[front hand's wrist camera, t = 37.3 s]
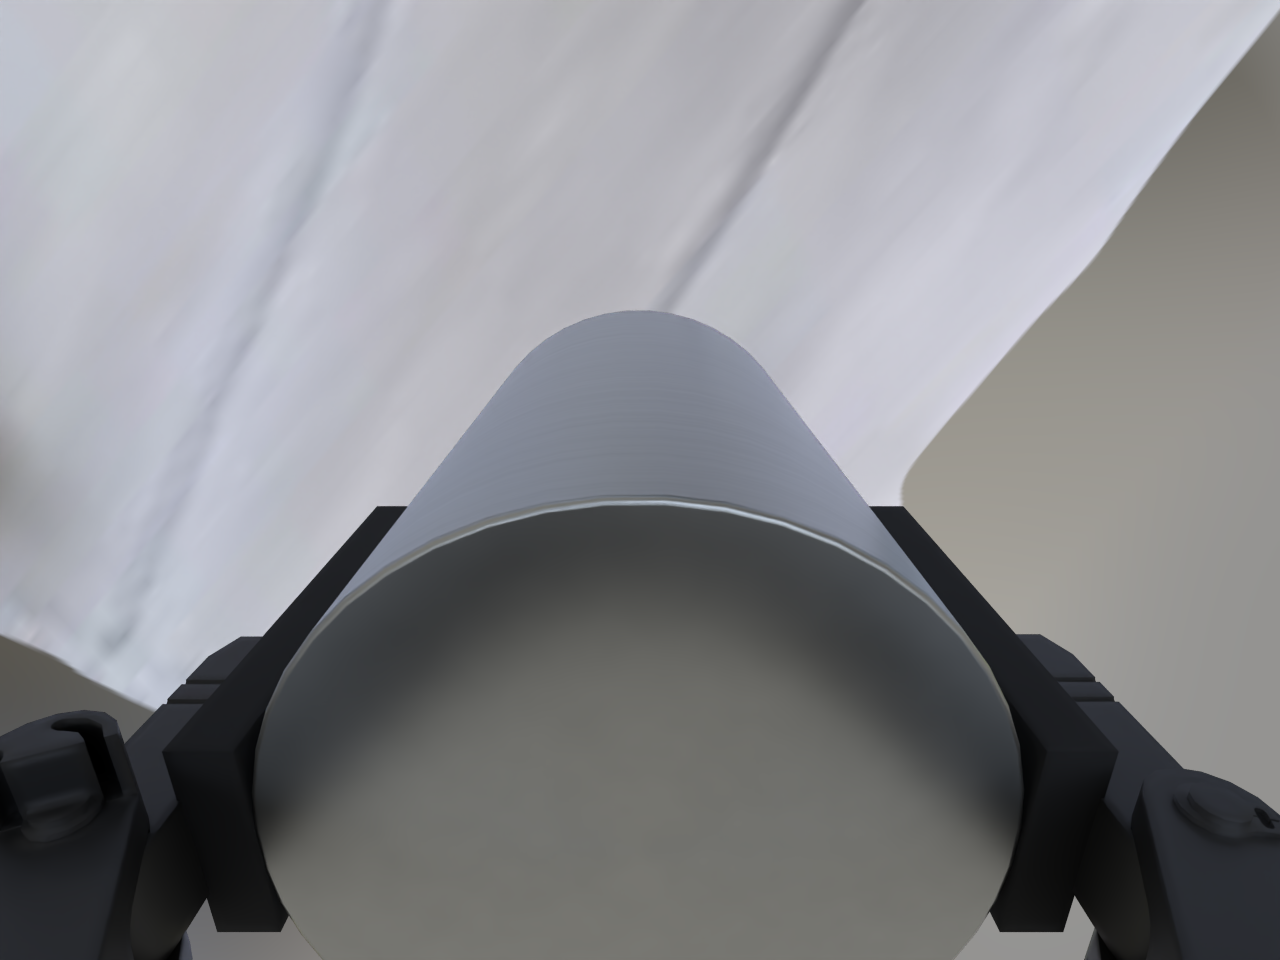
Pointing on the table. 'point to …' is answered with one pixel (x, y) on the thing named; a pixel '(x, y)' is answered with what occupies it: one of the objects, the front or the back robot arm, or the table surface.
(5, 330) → the table surface
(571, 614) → the tin
